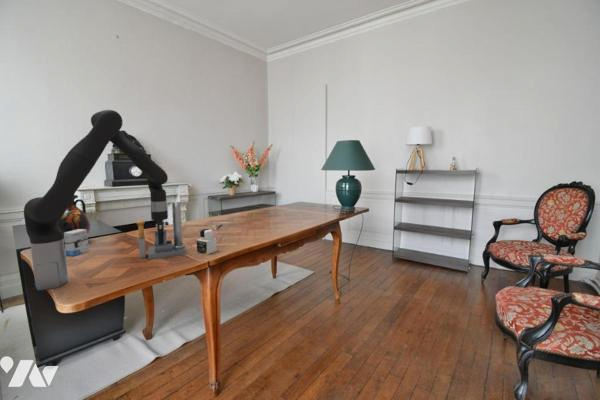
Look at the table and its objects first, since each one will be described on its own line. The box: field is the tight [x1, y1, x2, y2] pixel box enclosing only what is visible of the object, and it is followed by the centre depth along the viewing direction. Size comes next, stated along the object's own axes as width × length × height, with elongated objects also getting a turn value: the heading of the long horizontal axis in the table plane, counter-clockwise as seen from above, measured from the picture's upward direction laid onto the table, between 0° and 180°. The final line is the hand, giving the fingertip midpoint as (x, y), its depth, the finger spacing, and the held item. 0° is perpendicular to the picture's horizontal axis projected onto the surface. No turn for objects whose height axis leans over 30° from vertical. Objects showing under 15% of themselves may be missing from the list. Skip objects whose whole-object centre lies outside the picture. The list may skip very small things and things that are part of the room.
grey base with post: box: [138, 201, 187, 260], centre depth 141 cm, size 14×21×26 cm
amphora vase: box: [58, 194, 91, 246], centre depth 154 cm, size 22×22×28 cm
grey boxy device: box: [196, 228, 218, 256], centre depth 144 cm, size 7×7×12 cm
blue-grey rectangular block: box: [154, 229, 168, 245], centre depth 141 cm, size 5×5×9 cm
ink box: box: [64, 229, 90, 257], centre depth 141 cm, size 8×5×12 cm, turn 168°
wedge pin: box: [136, 220, 146, 241], centre depth 137 cm, size 4×4×11 cm
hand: (161, 242), depth 141 cm, fingers open, 5 cm apart
